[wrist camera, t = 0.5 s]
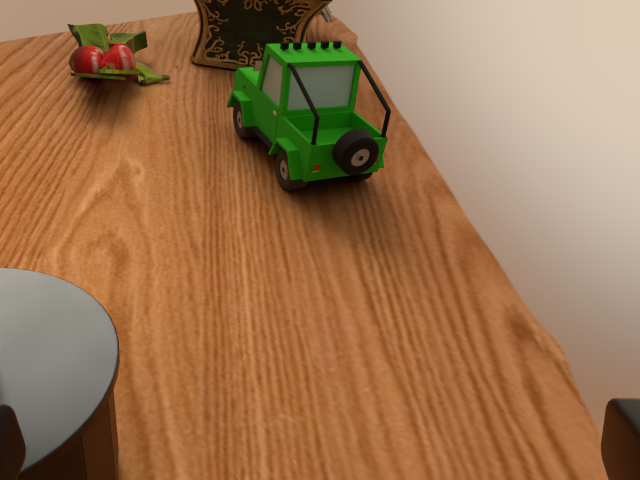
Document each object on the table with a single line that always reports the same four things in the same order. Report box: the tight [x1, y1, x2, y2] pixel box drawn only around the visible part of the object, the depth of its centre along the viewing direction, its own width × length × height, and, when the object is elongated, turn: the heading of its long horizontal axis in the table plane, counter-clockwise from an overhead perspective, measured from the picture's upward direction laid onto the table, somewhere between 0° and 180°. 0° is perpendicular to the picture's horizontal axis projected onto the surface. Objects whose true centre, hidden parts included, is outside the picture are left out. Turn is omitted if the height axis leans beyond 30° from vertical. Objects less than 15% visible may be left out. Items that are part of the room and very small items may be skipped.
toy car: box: [227, 41, 391, 190], centre depth 49 cm, size 8×17×10 cm, turn 28°
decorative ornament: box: [68, 24, 170, 85], centre depth 59 cm, size 15×5×10 cm
